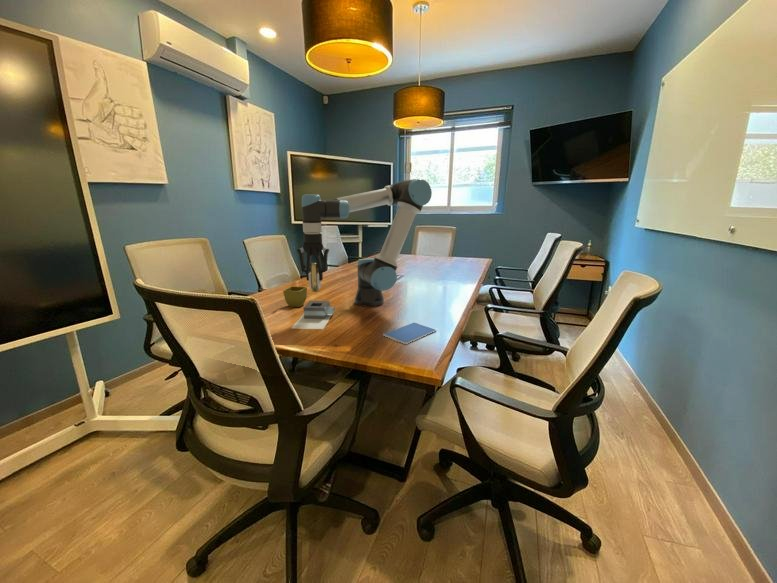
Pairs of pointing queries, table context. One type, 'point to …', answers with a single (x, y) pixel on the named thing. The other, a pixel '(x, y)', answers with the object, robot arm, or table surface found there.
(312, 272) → the brass pin
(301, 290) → the flower pot
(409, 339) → the tablet computer
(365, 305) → the robot arm
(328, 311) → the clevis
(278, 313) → the table surface
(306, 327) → the mounting plate
